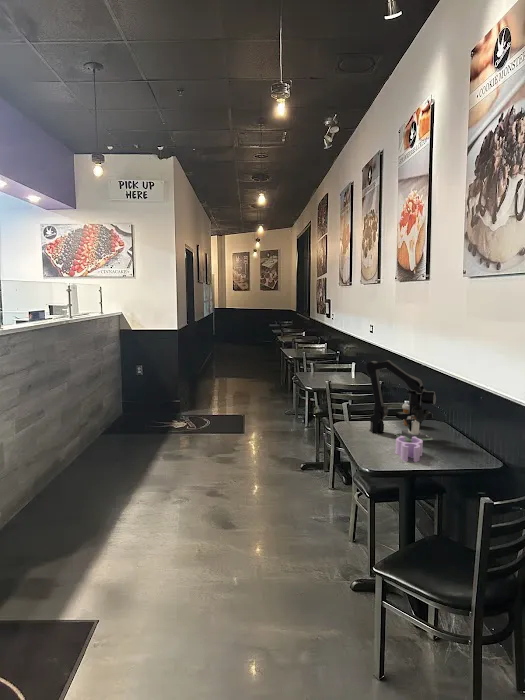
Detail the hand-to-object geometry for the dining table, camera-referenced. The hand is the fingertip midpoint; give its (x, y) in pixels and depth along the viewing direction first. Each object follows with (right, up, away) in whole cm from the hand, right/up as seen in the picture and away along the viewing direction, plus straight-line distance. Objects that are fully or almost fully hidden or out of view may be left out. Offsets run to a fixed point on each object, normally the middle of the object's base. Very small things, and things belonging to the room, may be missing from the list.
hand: (413, 431), depth 289 cm
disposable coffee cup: (+6, -1, +28) cm, 29 cm away
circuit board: (0, -4, 0) cm, 4 cm away
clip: (-11, -7, -31) cm, 34 cm away
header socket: (0, -4, 0) cm, 4 cm away
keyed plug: (0, -3, 0) cm, 3 cm away
